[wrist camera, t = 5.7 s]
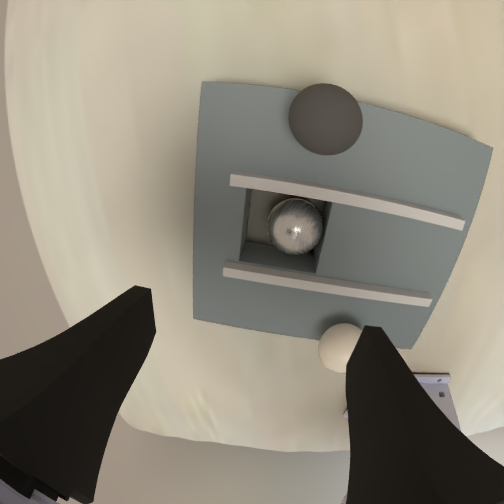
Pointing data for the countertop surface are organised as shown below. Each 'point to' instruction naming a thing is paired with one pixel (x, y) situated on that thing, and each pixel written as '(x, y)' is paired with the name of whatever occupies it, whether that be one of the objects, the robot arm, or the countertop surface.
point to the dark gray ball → (325, 119)
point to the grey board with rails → (329, 217)
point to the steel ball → (295, 226)
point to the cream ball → (338, 346)
